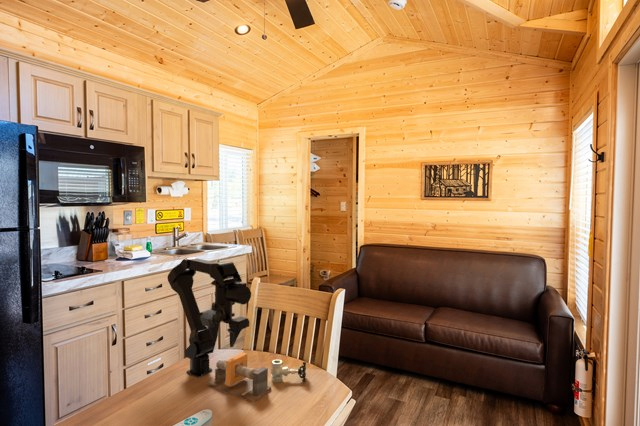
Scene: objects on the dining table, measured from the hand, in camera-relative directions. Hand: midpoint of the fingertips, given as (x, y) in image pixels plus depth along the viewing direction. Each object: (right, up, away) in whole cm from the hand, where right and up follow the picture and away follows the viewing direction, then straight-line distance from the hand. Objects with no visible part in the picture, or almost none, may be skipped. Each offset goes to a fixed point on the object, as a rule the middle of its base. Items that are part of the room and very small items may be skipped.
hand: (223, 344), depth 129 cm
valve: (+22, -14, +2) cm, 26 cm away
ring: (+5, -11, -3) cm, 13 cm away
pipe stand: (+6, -13, -3) cm, 15 cm away
